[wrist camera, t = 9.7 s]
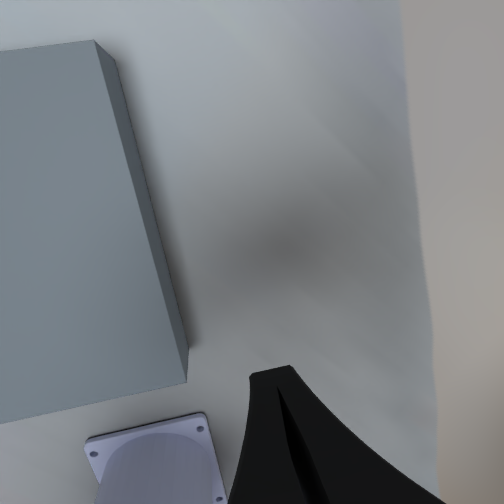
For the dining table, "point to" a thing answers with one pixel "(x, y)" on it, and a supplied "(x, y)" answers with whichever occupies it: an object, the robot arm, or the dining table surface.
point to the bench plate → (77, 241)
